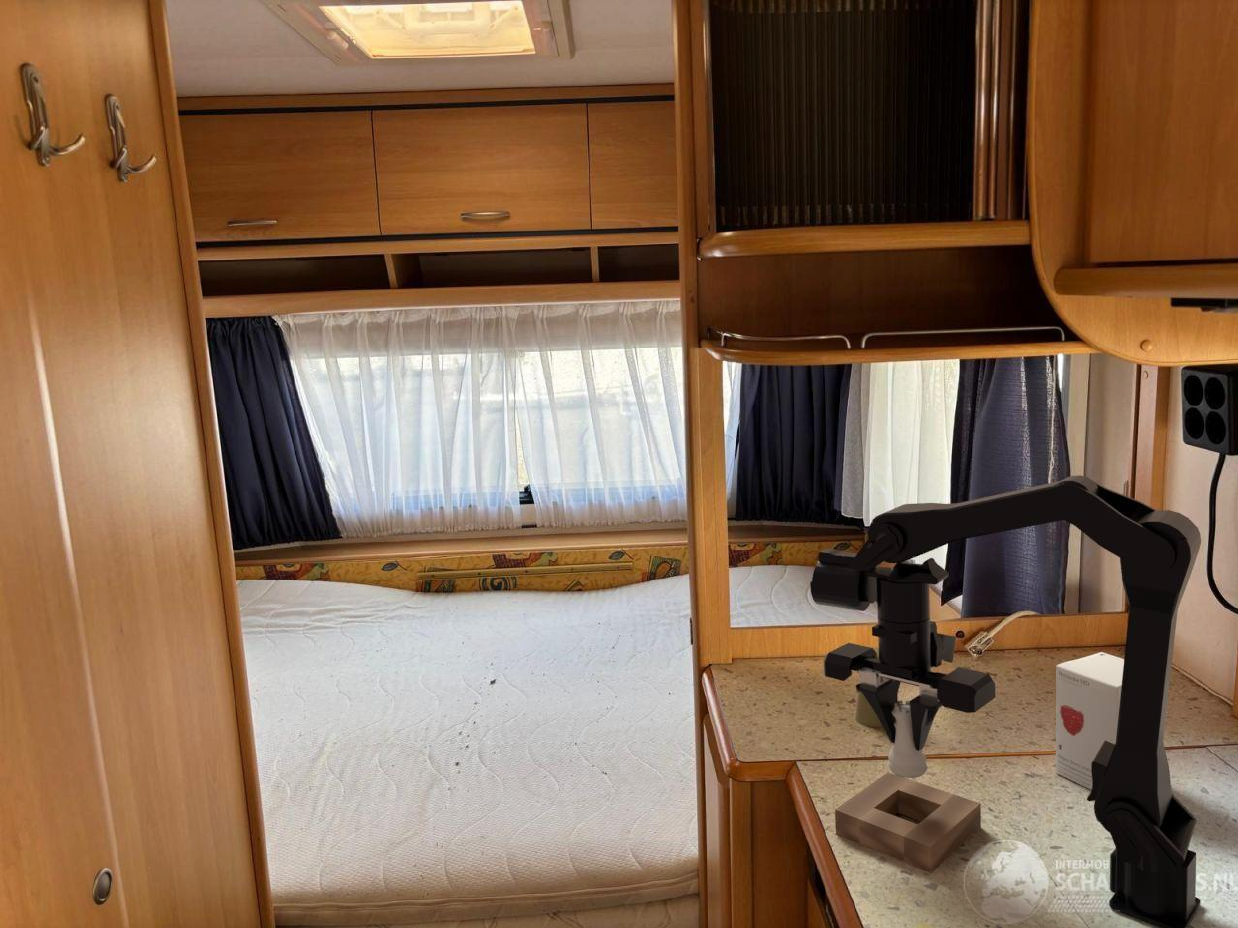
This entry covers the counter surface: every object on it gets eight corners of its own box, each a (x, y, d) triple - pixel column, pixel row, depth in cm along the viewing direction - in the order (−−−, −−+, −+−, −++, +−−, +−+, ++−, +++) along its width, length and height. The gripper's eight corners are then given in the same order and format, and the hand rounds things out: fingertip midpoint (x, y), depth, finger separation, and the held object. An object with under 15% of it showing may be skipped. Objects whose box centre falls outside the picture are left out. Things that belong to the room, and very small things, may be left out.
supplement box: (1052, 773, 115) (1052, 663, 113) (1100, 756, 119) (1100, 649, 117) (1116, 804, 107) (1117, 686, 105) (1165, 785, 110) (1167, 670, 108)
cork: (865, 729, 131) (863, 658, 130) (848, 713, 137) (846, 645, 136) (903, 724, 132) (902, 653, 131) (885, 708, 138) (883, 641, 137)
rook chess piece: (896, 757, 106) (894, 694, 105) (933, 767, 103) (932, 701, 102) (881, 772, 103) (879, 707, 102) (919, 782, 100) (917, 715, 99)
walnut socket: (980, 827, 104) (980, 803, 103) (931, 872, 95) (930, 846, 95) (888, 794, 112) (887, 771, 112) (835, 833, 104) (834, 809, 104)
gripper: (1015, 612, 99) (1017, 743, 101) (868, 587, 113) (872, 704, 115) (970, 638, 92) (973, 780, 94) (818, 609, 105) (823, 733, 107)
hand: (907, 745), depth 102 cm, fingers closed on rook chess piece, 3 cm apart
